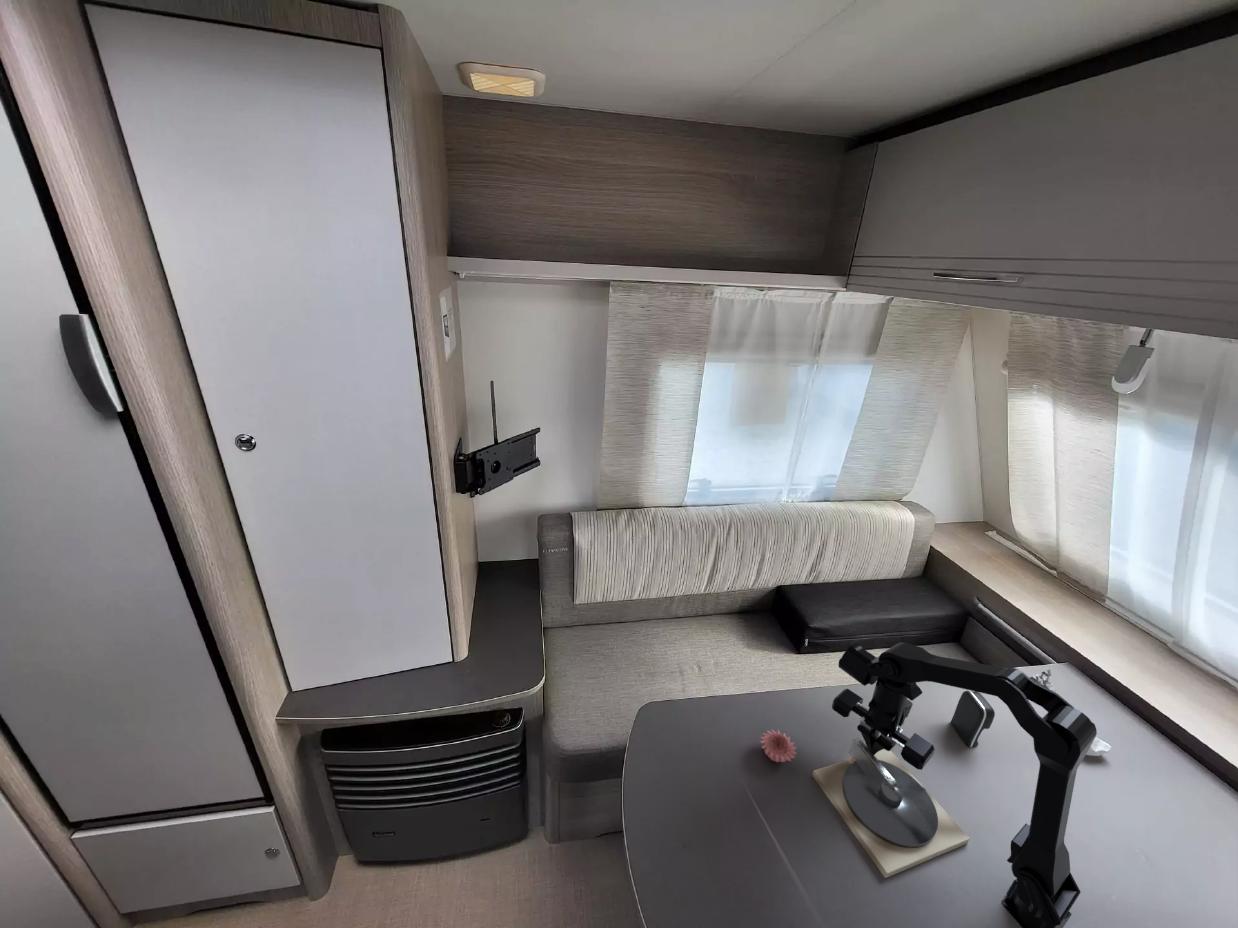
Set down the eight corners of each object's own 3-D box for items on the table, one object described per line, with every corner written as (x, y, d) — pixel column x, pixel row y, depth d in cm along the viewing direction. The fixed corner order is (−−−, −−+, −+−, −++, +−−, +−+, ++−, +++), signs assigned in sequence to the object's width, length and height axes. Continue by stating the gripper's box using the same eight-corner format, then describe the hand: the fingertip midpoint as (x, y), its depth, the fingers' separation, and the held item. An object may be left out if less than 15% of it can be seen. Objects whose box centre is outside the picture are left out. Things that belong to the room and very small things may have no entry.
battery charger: (983, 749, 116) (1000, 712, 111) (966, 748, 116) (983, 711, 111) (963, 723, 122) (979, 687, 118) (948, 722, 122) (963, 686, 118)
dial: (957, 832, 96) (966, 814, 94) (887, 860, 91) (895, 841, 89) (881, 746, 113) (887, 728, 111) (818, 765, 108) (823, 747, 106)
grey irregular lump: (1000, 683, 135) (1011, 661, 132) (1021, 675, 138) (1031, 653, 135) (1037, 709, 128) (1048, 687, 125) (1058, 700, 131) (1069, 678, 128)
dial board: (967, 843, 96) (970, 837, 96) (885, 877, 90) (887, 872, 89) (885, 751, 114) (887, 746, 113) (812, 775, 107) (813, 769, 107)
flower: (786, 739, 115) (790, 722, 113) (800, 773, 108) (805, 754, 105) (752, 740, 114) (756, 722, 112) (763, 774, 107) (768, 755, 105)
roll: (1110, 769, 113) (1121, 752, 111) (1044, 746, 117) (1053, 728, 115) (1100, 748, 118) (1111, 731, 116) (1037, 726, 122) (1046, 709, 120)
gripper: (955, 710, 100) (934, 766, 106) (863, 655, 114) (849, 708, 119) (931, 739, 94) (911, 797, 99) (837, 678, 107) (824, 732, 113)
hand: (872, 755), depth 108 cm, fingers closed
